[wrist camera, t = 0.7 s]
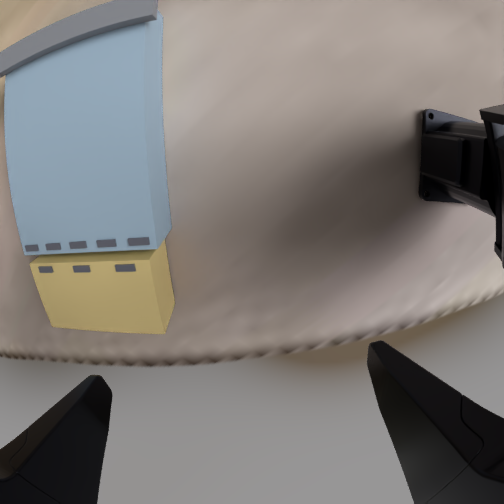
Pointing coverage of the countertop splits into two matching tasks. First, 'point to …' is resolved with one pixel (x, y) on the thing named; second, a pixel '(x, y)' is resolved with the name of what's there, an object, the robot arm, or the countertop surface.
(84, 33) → the ticket
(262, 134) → the countertop surface
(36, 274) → the stub
